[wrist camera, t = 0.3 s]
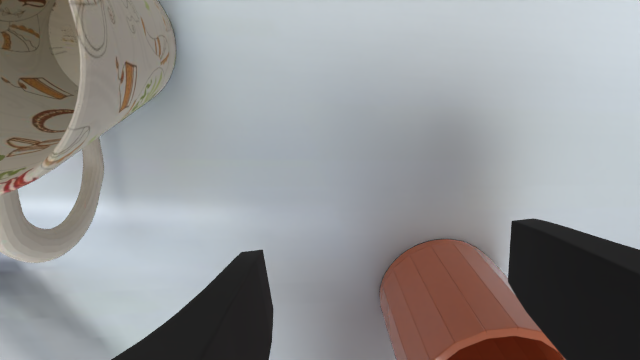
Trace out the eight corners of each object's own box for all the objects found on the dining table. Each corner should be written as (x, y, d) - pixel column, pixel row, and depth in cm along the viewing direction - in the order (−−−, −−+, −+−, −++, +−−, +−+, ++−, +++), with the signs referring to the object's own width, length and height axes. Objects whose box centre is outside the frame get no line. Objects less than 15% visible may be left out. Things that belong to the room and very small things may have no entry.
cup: (494, 332, 24) (572, 448, 17) (381, 344, 24) (412, 466, 17) (500, 232, 22) (594, 318, 15) (375, 245, 22) (409, 338, 15)
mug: (198, -50, 17) (55, -186, 7) (206, 208, 21) (122, 340, 11) (4, -66, 16) (-425, -236, 7) (51, 201, 20) (-174, 331, 11)
